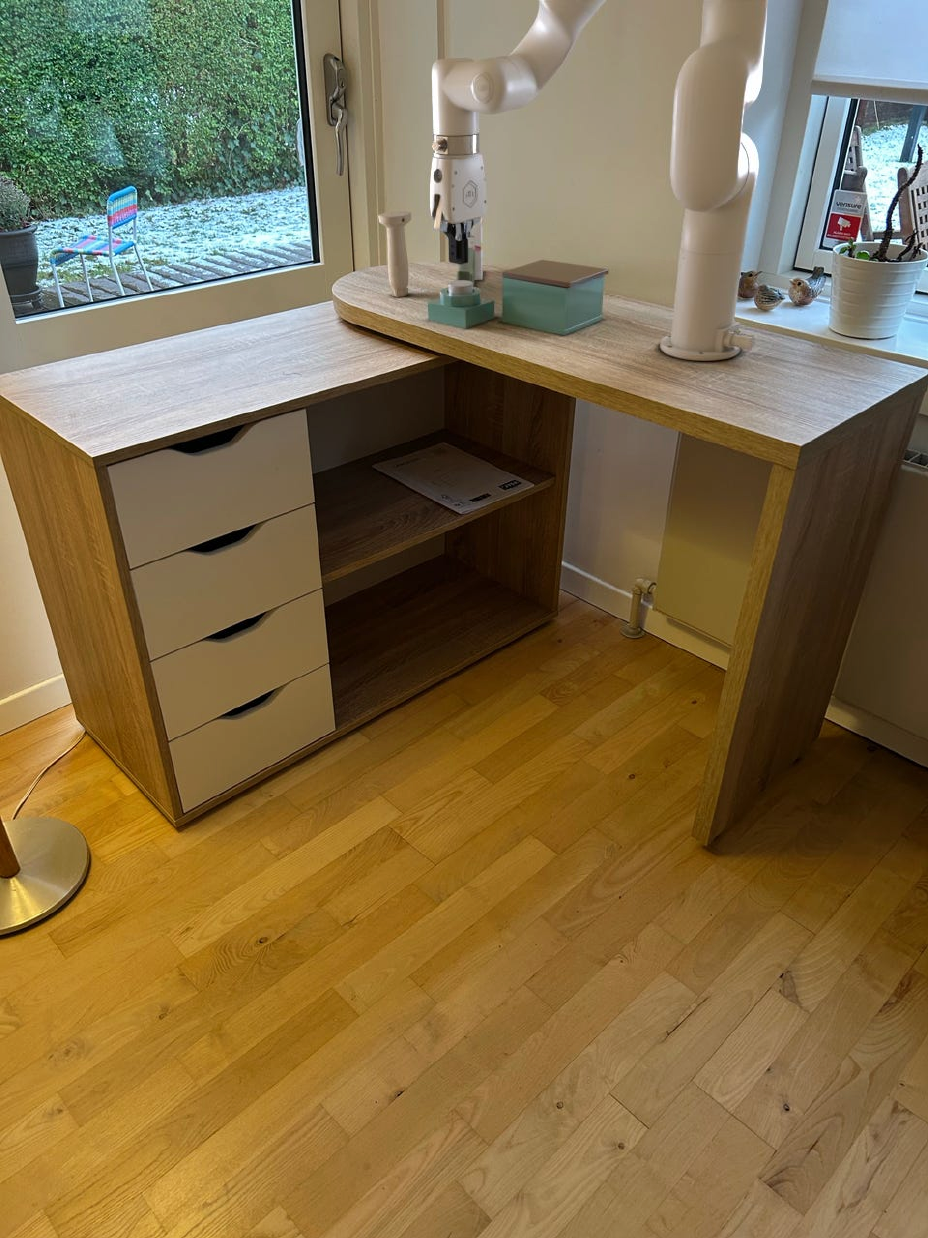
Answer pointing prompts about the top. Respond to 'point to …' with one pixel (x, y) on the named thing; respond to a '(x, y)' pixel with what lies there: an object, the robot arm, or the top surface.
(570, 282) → the brown rectangular panel
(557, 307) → the teal bin
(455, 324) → the flush button base
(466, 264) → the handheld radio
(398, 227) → the handle
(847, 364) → the top surface
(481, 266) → the ink cartridge box
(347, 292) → the top surface
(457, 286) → the flush button
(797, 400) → the top surface
